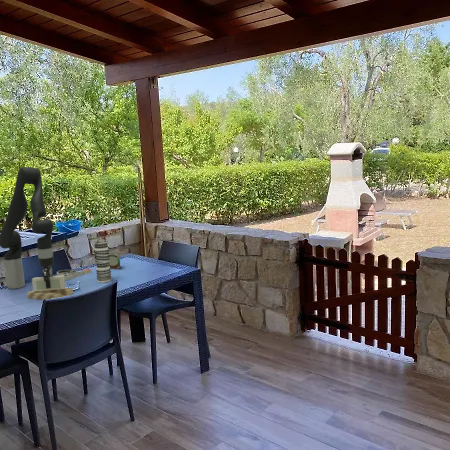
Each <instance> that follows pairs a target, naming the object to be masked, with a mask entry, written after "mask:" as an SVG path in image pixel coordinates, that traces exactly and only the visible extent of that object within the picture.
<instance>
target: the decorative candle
mask: <svg viewBox="0 0 450 450" xmlns="http://www.w3.org/2000/svg"><path fill="white" fill-rule="evenodd" d="M93 244H94V250H93V253H94V254H93V255H94V256H93V257H94V258H93V259H95V260H94V262H95V264H96V265H95V266H96V267H95V268H96V270H95V271H96V280H97V281H96V282H97V283H108V282H111V281H112V274H111V272H112V271H111V270H112V269H110V265H109V261H110V258H109V257H110V256H108V254H110V253H111V252H110V249H109V247H108V241H107V240H106V238H105V239H103V238H101V239H96V240H95V241H94V242H93Z"/></svg>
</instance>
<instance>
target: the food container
mask: <svg viewBox="0 0 450 450" xmlns="http://www.w3.org/2000/svg"><path fill="white" fill-rule="evenodd" d="M109 253H110V254H108V256H110V257H109V258H110V261H109V265H110V269H111V270H115V271H117V270H120V269H121V258H122V255H121V253H120V252H109Z"/></svg>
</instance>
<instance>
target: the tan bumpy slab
mask: <svg viewBox="0 0 450 450" xmlns="http://www.w3.org/2000/svg"><path fill="white" fill-rule="evenodd" d="M68 295H70V296H72V295H74V288H70V287H65V289H58V290H47V291H36V292H33V290H31V291H28V292H27V298H28V299H34V300H43V301H45V300H44V299H51V298H58V297H63V296H67V297H69V296H68Z"/></svg>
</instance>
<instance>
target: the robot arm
mask: <svg viewBox="0 0 450 450" xmlns="http://www.w3.org/2000/svg"><path fill="white" fill-rule="evenodd" d="M16 175H17V176H16V180H15V186H14V191H13V193H12V197H11V201H10V204H9V207H8V211H7V214H6V217H5V221H4V223H3V226H2V229H1V231H0V247H1V249H3V250H5V249H8V250H7V252H6V253H5V254H4V255H3V261H4V267H5V271H4V277H5V283H6V288H7V289H12V290H15V289H20V288H23V287H24V286H26V284H25V275H24V267H23V261H22V260H23V259H22V253H23V246H22V243H23V242H22V237H21V234H20V233H19V232H18V231H16V228H17V227H18V225H20V223H21V222H22V221H23V220H24V218H25V217H26V214H27V212H28V208H29V205H30V210H31V214H32V222H31V223H32V224H31V230H32V232H33V233H34V234H37V235H38V234H39V235H40V234H44V235H43V236H41V237H39V238H37V241H36V242H37V243H36V245H37V257H38V264H39V267H43V269H42V277H43V278H44V282H46V288H47V289H48V288H51V286H50V277H51V276H53V265H55V259H54V251H53V244H52V234H53V231H54V230H53V229H54V223H53V221H52V219H50V218H48V219H42V218H44V217H45V216H47V209H46V206H45V201H44V195H43V182H42V174H41V171H40V169H38V168H36V167H30V166H29V167H28V166H20V168H19V170H18V171H17V174H16ZM26 185H33V187H34V192H33V193H32V195H31V198H30V200H29V201H30V203H28V200H27V197H26V196H25V191H24V189H25V186H26ZM46 278H48V279H46Z"/></svg>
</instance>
